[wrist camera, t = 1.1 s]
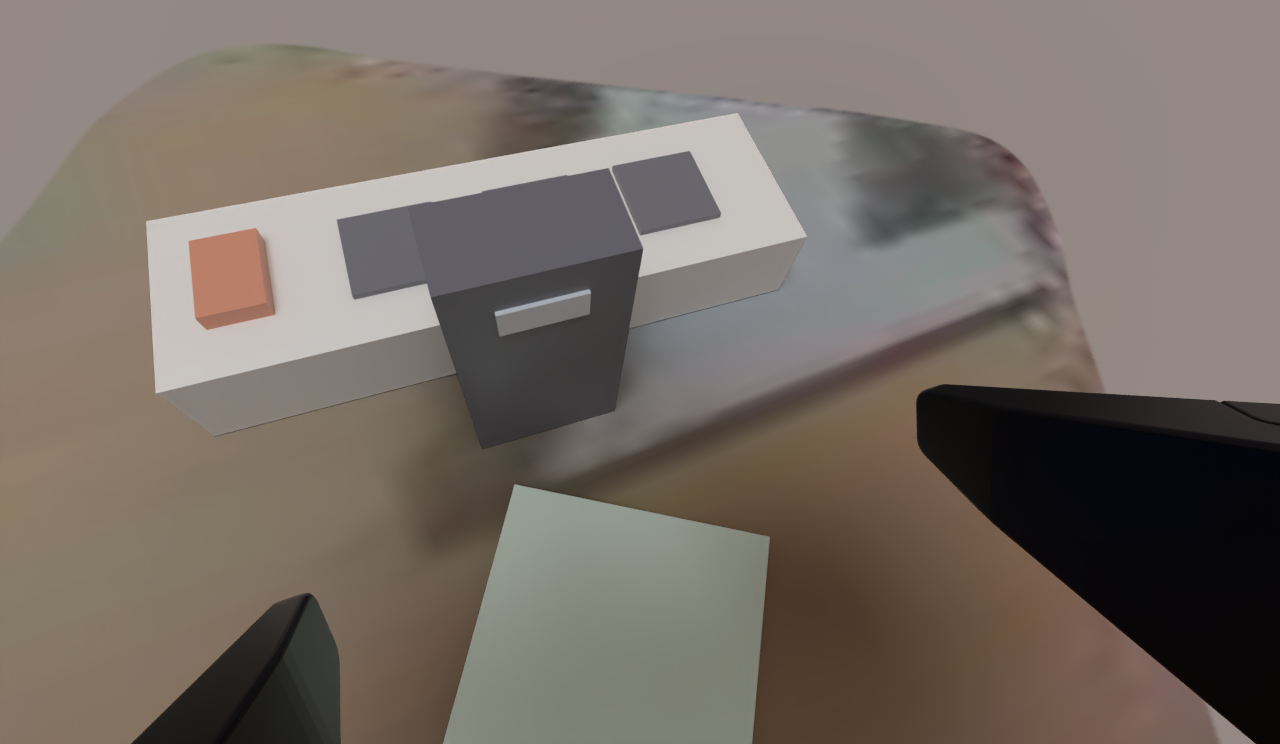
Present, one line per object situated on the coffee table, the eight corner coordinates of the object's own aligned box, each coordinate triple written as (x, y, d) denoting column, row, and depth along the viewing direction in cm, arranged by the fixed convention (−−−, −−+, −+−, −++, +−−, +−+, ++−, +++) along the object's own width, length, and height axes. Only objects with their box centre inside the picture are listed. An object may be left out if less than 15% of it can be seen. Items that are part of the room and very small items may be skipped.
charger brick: (615, 414, 24) (645, 252, 15) (483, 452, 23) (431, 302, 14) (593, 352, 25) (608, 168, 16) (465, 386, 24) (406, 207, 15)
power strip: (719, 174, 30) (741, 99, 26) (779, 291, 27) (814, 226, 24) (200, 282, 25) (133, 207, 21) (214, 439, 22) (142, 386, 18)
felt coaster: (766, 539, 23) (769, 536, 22) (739, 848, 19) (742, 851, 18) (515, 487, 23) (514, 484, 22) (432, 787, 18) (430, 789, 18)
